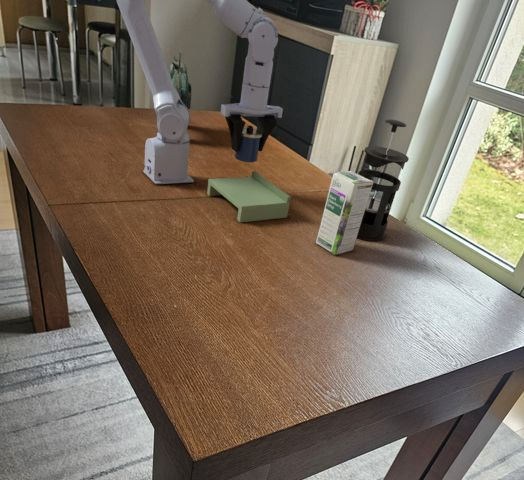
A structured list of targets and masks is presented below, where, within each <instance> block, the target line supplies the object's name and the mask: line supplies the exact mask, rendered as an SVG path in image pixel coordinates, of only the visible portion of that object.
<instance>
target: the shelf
mask: <svg viewBox="0 0 524 480" xmlns="http://www.w3.org/2000/svg"><path fill="white" fill-rule="evenodd" d="M206 194H207V195H208V196H209V197H216V196H217V197H218V196H223V197H224V198H225V199H226V200H227V201H229V202H230V203H231V204H232V205H234V206H235V207H236V208H237V210H238V211H237V217H236V221H237V222H239V223H247V222H249V223H250V222H256V221H267V220H277V219H285V218H288V214H289V210H290V209H289V208H290V204H291V199H292V196H290V195H289V194H288V193H286V192H285V191H284V190H282V189H281V188H279V187H278V186H276V185H275V184H274V183H272V182H271V181H269V180H268V179H267V178H266V177H264V176H262V175H261V174H260V173H258V172H257V171H255V170H254V171H251V176H239V177H237V176H236V177H220V178H219V177H218V178H208V181H207V191H206Z"/></svg>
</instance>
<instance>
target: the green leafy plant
mask: <svg viewBox="0 0 524 480" xmlns="http://www.w3.org/2000/svg"><path fill="white" fill-rule="evenodd" d="M177 56H178V59H177V58H176V56H175V55H174V56H173V61H170V64H169V68H168V71H169V74H170V77H171V80H172V82H173V85H174V87H175V89H176V91H177V92H178V94H179V96H180V99H181V101H182V102H183V104H184V105H185V106H186V107H187V108H188V110H189V111H190V109H191V105H192V103H191V101H192V84H191V83H190V81H189V77H188V70H187V64H186V62H181V57H182V54H181V52H178V55H177Z"/></svg>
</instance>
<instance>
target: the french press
mask: <svg viewBox="0 0 524 480" xmlns="http://www.w3.org/2000/svg"><path fill="white" fill-rule="evenodd" d="M384 122H385V123H386V124H387V125H390V126H391V130H390V132H391V135H390V139H389V141H388V145H387V147H383V146H374V145H371V146H366V147H365V148H364V153H365V155H364V160H363V162H364V163H365V164H367V165H368V166H370V167H373V168H376V169H377V168H378V169H379V168H380V171H379V170H375V169H371V168H369V167H362V168H361V170H359V171H358V172H357V174H358V175H360V176H362V177H364V178H366V179H369V180H372V179H373V178H378V179H377V181H376V182H373V185H372V188H371V191H372V190H373V191H374V192H373V195H372V196H369V198H368V202H367V205H366V208H365V211H364V215H363V218H362V222H361V225H360V228H359V231H358V235H357V238H356V239H358V240H363V241H367V242H379V241H382V240H384V239H385V236H386V230H387V226H388V223H389V220H388V218H389V216H390V212H391V210H392V206H393V202H394V199H395V196H396V193H397V192H398V191H399V190H400V188H401V184H402V181H401V180H400V179H399V178H398V177H396V176H395V175H392V174H389V173H387V172H383V170H384V166H386V165H389V164H397V165H398V166H400V168H401V170H404V168H405V165H406V163H408V162H409V160H410V158H409V156H407V155H406V154H404V153H403V152H400V151H398V150H395V149H392V148H391V144H392V140H393V137H394V134H395V133H396V132H397V129H398V127H399V128H406V127H407V124H406V123H405V122H403V121H400V120H397V119H385V121H384ZM380 180H385V181H387V182H390V183H391V184H392V185H385V184H380ZM377 192H381V193H382V195H381V198H377V197H376V194H377Z"/></svg>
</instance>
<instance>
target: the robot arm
mask: <svg viewBox="0 0 524 480" xmlns="http://www.w3.org/2000/svg"><path fill="white" fill-rule="evenodd" d="M204 2H206V3H208V4H209V5H211V6H212V7H213V13H214V17H215V19H216V20H218V21H219V22H221V23H222V24H223V25H224V26H226V27H227V28H228V29H230V30H231V31H232V32H233V33H235V34H236V35H237V36H238V37H240V38H242V39H247V40H248V47H247V48H248V49H247V55H246V57H245V61H244V70H243V76H242V77H243V79H242V84H241V85H242V86H241V93H240V100H239V102H238V103H237V102H235V103H228V104H226V103H225V104H222V103H221V104H220V105H221V106H220V115H221V116H223V117H224V118H225V121H226V124H227V128H228V131H229V135H230V142H231V150H233V151H234V152H235V151H236V152H239V148H240V142H241V136H242V132H243V128H244V127H245V125H246V121H245V120H243V117H256V130H259V131H261V132H262V137H261V138H260V144H259V151H258V152H263V149H264V146H265V144H266V142H267V140H268V138H269V136H270V134H271V133H272V131H273V130H274V128H275V127H276V126H277V124H278V119H282V117H283V112H284V108H283V107H280V106H278V105H270V104H269V105H268V98H269V92H270V86H271V79H272V73H273V66H274V61H273V59H274V57H275V48H276V47H277V45H278V42H279V33H278V32H279V31H278V29H277V26H276V24H275V22H274V21H273V20H272V19H271V17H270V16H269V15H267V14H263V13H264V10H263V9H262V8H261V7H258V8H257V7H255V6H254V5H253V4H252V3H250V2H249V1H248V0H204ZM116 3H117V6H118V8H119V11H120V14H121V17H122V19H123V22H124V25H125V27H126V29H127V32H128V35H129V37H130V40H131V43H132V46H133V48H134V50H135V53H136V56H137V58H138V61H139V64H140V66H141V69H142V71H143V74H144V76H145V79H146V82H147V85H148V87H149V91H150V92H151V95H152V100H153V108H154V112H155V114H156V128H157V133H156V136H154V137H149V138H146V141H145V144H144V169H143V170H142V172H143V174H145V175H146V176H147V177H148V178H149V179H150V180H151V181H152V182H153V183H154V184H156V185H170V184H187V183H190V184H191V183H194V182H195V180H194V178H192V177H191V176H190V175H188V172H189V171H188V169H189V155H190V154H189V153H190V142H191V137H190V136H189V134H188V132H187V131H188V127H189V126H190V123H191V112H190V109H189V110H188V108H187V107H186V106H185V105H184V104H183V102H182V101H181V99H180V96H179V94H178V92H177V91H176V89H175V87H174V85H173V82H172V80H171V77H170V74H169V68H168V66H167V62H166V60H165V57H164V55H163V51H162V48H161V46H160V43H159V40H158V38H157V35H156V32H155V29H154V27H153V24H152V20H151V18H150V15H149V12H148V9H147V7H146V4H145V0H116ZM276 118H278V119H276Z"/></svg>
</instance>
